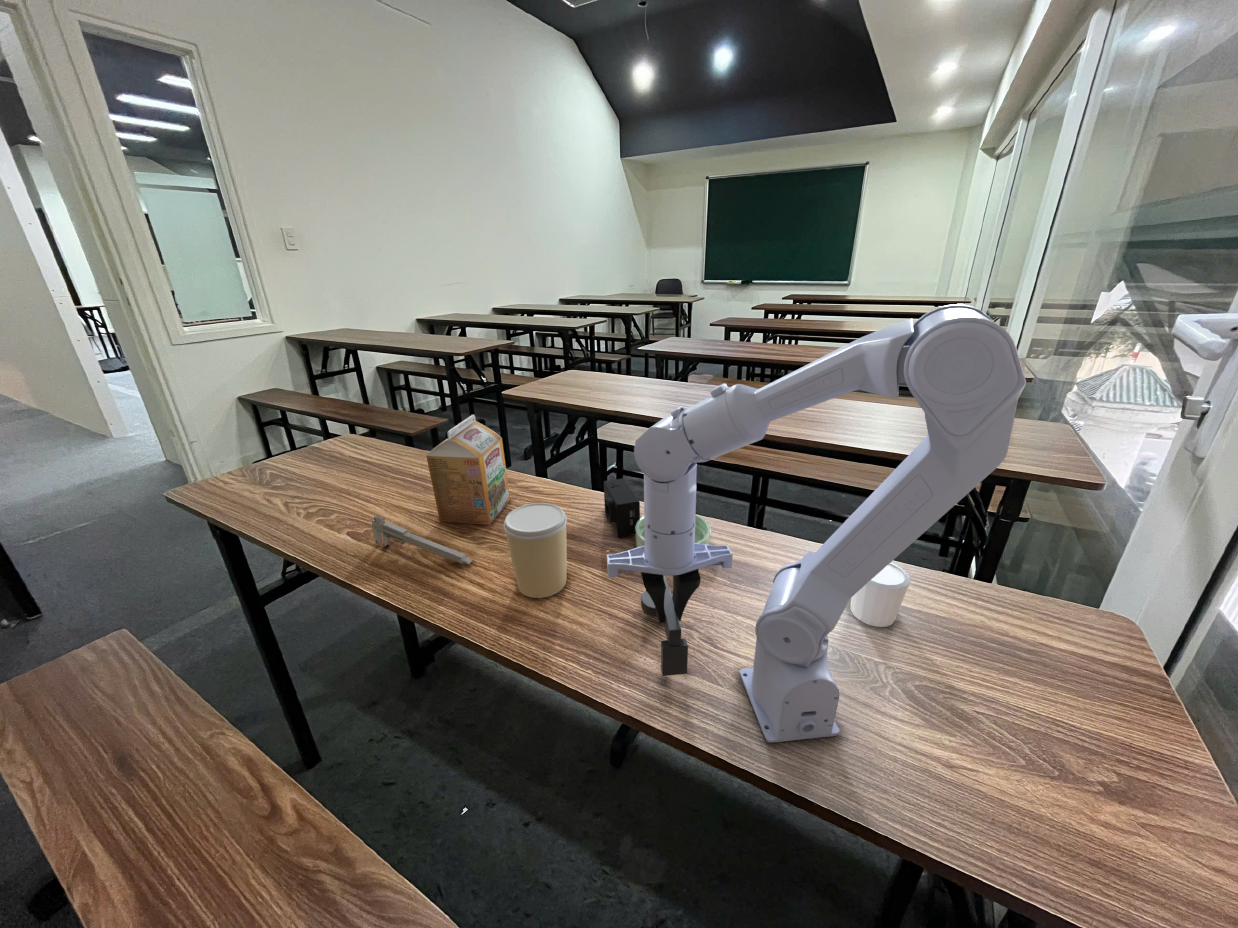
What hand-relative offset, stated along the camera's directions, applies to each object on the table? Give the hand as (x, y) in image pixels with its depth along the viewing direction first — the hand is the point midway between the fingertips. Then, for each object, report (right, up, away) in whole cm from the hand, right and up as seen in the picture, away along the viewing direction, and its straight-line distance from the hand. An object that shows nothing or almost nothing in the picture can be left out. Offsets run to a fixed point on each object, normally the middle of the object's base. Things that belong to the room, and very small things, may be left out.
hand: (668, 616), depth 59 cm
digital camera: (-6, +7, +33) cm, 34 cm away
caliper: (-41, +3, +25) cm, 48 cm away
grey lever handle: (0, -3, +5) cm, 6 cm away
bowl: (+3, +5, +26) cm, 26 cm away
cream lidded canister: (-18, 0, +17) cm, 25 cm away
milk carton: (-36, +9, +40) cm, 54 cm away
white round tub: (+30, -2, +8) cm, 31 cm away
